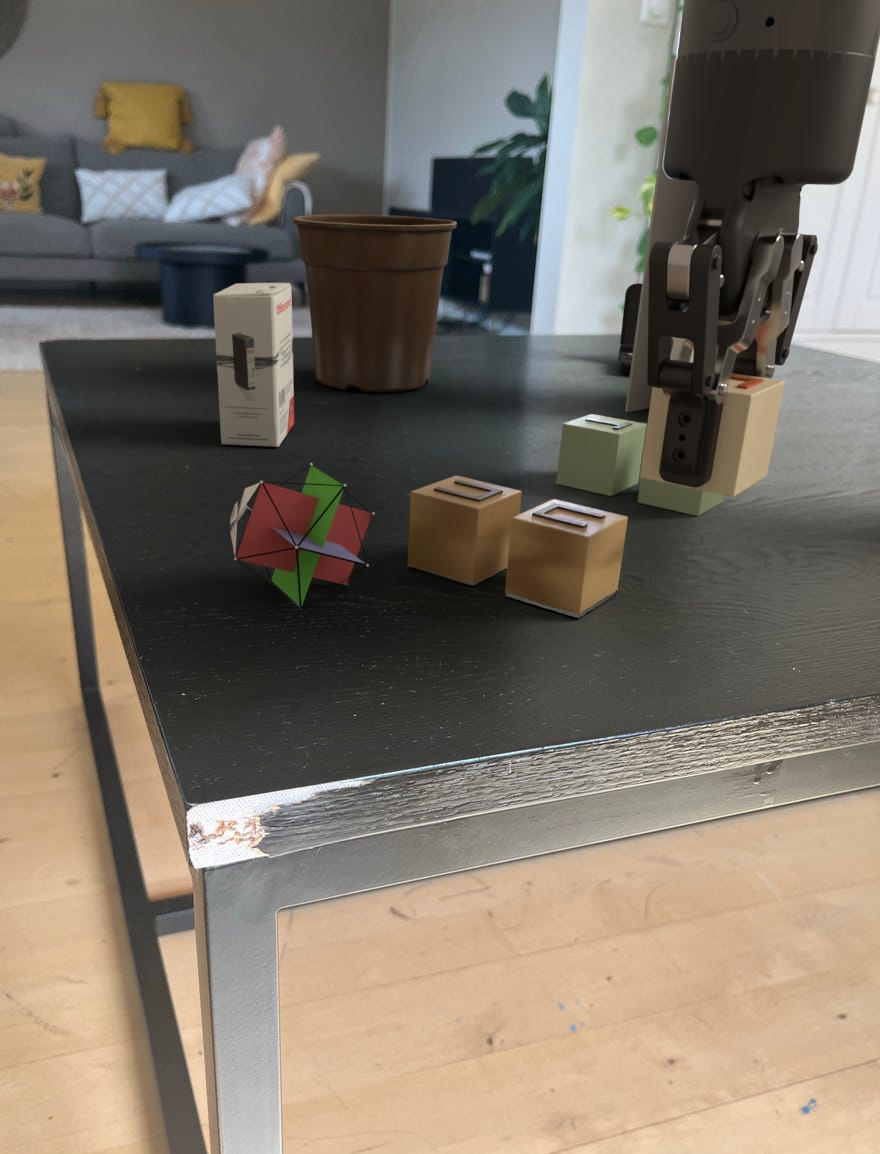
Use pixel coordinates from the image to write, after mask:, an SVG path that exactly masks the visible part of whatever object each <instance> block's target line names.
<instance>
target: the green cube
mask: <svg viewBox="0 0 880 1154" xmlns="http://www.w3.org/2000/svg"><path fill="white" fill-rule="evenodd" d="M646 431H647V423H644V422H638V421H633V420H628V419H622V418H617V417H616V418H614V417H610V416H605V415H600V414H593V413H590V414H588V415H584V416H581V417H578V418H575V419H572V420H570V421H566V422H563V423H562V427H561V437H560V438H561V439H560V446H559V456H558V463H557V471H556V482H555V484H556V485H559V486H563V487H569V488H573V489H577V490H581V491H586V492H591V493H595V494H599V495H604V496H608V497H613V496H615V495H617V494H619V493H621V492H623V491H625V490H627V489H630V488H632V487H634V486H636V485H638V483H639V478H640V473H641V466H642V459H643V452H644V446H645V438H646Z"/></svg>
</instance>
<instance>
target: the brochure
mask: <svg viewBox="0 0 880 1154" xmlns="http://www.w3.org/2000/svg"><path fill="white" fill-rule="evenodd" d="M676 58H677V57H672V58H671V65H670V73H669V81H668V87H667V88H668V89H667V96H666V103H665V110H664V118H663V125H662V132H661V139H660V140H661V141H660V148H659V154H658V161H657V171H656V178H655V183H654V184H655V186H654V192H653V193H654V194H653V200H652V208H651V215H650V222H649V230H648V237H647V246H646V252H645V260H644V268H643V276H642V282H641V284H642V289H641V296H640V304H639V311H638V319H637V326H636V334H635V341H634V348H633V356H632V363H631V371H630V374H629V379H628V387H627V394H626V402H625V409H624V412H625V413H631V412H637V411H642V410H647V409H648V410H649V409H650V402H651V394H652V387H650V386H649V385H648V381H647V371H648V304H649V258H650V253H651V250H652V247H653V245H654V244H655V243H656V242H657V241H664V242H678V243H680V242H682V241H683V238H684V236H685V234H686V228H687V224H688V221H689V218H690V215H691V212H692V209H693V205H694V201H695V197H696V194H697V192H698V190H697V188H698V184H697V182H696V181H691V180H674V179H671V178H669V177H668V176H667V175H666V174H665V172H664V170H663V158H664V151H665V143H666V135H667V128H668V120H669V112H670V104H671V97H672V89H673V81H674V73H675V65H676ZM766 312H767V313H770V311H766ZM672 347H673V339H672V338H671V350H670V354H671V351H672ZM693 354H694V349H693V351H692V354H691V358H690V362H693Z"/></svg>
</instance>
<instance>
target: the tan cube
mask: <svg viewBox="0 0 880 1154" xmlns="http://www.w3.org/2000/svg"><path fill="white" fill-rule="evenodd" d="M522 493H523V491H522V490H519V489H514V488H511V487H507V486H504V485H503V486H502V485H498V484H494V483H490V482H487V481H486V482H485V481H482V480H477V479H473V478H469V477H466V476H461V475H453V476H450V477H447V478H445V479H442V480H439V481H436V482H433V483H430V484H428V485H425V486H423V487H420V488H417V489H414V490H411V491H410V498H409V499H410V503H409V521H408V524H409V525H408V547H407V548H408V550H407V567H408V566H409V567H414V568H417V569H420V570H425V571H427V572H430V573H435V574H438V575H441V576H444V577H449V578H452V579H455V580H458V581H461V582H467V583H470V584H475V583H477V582H479V581H480V580H483V579H485V578H487V577H489V576H491V575H492V574H496V573H497V572H499V571H502V570H504V569H505V568H507V564H508V553H509V542H510V531H511V520H512V517H514V516H517V515H519V514H521V506H522V505H521V504H522ZM409 567H408V568H409Z"/></svg>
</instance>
